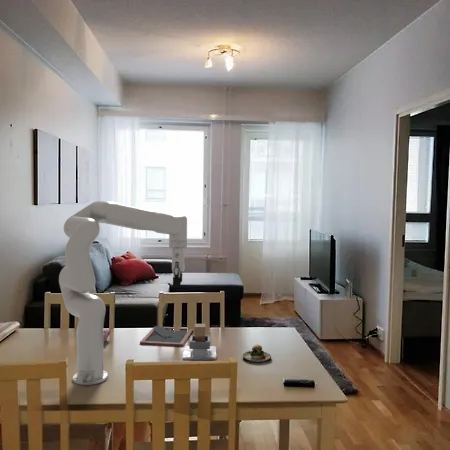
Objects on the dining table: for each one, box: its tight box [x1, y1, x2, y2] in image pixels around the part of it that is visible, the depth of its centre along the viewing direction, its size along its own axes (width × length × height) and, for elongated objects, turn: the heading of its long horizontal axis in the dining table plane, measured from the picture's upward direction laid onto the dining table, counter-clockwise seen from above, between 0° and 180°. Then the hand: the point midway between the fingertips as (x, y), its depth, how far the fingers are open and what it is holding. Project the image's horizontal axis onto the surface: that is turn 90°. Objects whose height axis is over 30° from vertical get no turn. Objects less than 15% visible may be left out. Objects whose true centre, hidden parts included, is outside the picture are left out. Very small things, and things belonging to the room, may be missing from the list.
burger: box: [242, 344, 272, 363], centre depth 201 cm, size 12×12×8 cm
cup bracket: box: [182, 334, 217, 361], centre depth 206 cm, size 14×14×7 cm
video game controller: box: [103, 328, 112, 345], centre depth 220 cm, size 10×5×7 cm, turn 0°
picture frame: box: [139, 325, 193, 348], centre depth 229 cm, size 20×2×25 cm
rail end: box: [194, 323, 206, 341], centre depth 206 cm, size 4×4×8 cm
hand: (177, 284), depth 205 cm, fingers open, 9 cm apart
